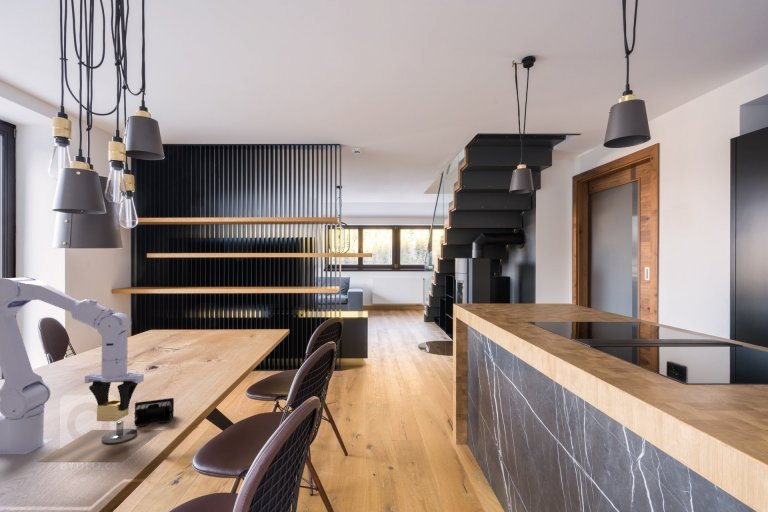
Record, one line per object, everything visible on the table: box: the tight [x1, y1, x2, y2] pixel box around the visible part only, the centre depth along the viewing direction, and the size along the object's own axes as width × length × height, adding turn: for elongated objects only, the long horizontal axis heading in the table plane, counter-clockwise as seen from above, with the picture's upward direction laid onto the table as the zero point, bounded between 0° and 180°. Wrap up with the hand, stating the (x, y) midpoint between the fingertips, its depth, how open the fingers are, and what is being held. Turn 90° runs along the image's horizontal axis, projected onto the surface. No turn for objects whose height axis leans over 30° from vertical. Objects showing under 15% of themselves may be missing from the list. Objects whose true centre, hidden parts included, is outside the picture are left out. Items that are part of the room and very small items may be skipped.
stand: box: [101, 420, 138, 444], centre depth 107 cm, size 8×8×4 cm
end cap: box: [133, 397, 175, 427], centre depth 118 cm, size 10×7×7 cm
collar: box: [96, 398, 130, 422], centre depth 106 cm, size 5×5×4 cm
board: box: [36, 429, 164, 463], centre depth 103 cm, size 20×18×1 cm
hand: (114, 409), depth 106 cm, fingers closed on collar, 5 cm apart
